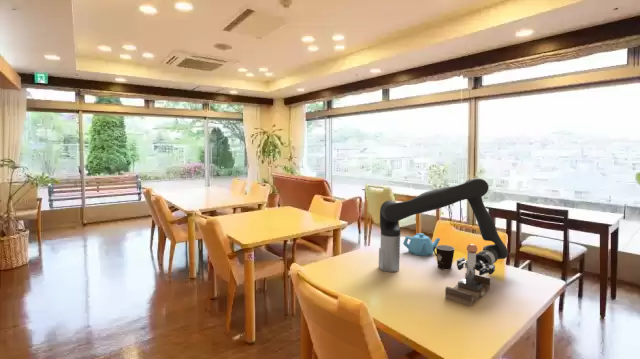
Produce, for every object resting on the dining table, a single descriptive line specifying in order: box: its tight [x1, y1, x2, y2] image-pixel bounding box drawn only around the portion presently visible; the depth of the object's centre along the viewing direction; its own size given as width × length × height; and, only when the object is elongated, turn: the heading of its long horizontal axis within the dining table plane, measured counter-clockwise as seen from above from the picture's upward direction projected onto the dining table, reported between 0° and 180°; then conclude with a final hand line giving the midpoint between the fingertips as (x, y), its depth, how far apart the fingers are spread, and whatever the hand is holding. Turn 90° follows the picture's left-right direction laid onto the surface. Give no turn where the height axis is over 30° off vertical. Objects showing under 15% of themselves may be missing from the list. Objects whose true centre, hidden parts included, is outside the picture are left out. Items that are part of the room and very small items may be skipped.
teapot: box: [402, 232, 441, 257], centre depth 198 cm, size 15×15×11 cm
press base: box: [444, 273, 492, 307], centre depth 145 cm, size 22×10×4 cm, turn 137°
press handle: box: [457, 243, 482, 292], centre depth 145 cm, size 5×8×18 cm, turn 47°
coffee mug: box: [433, 244, 456, 271], centre depth 176 cm, size 12×9×10 cm
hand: (469, 270), depth 144 cm, fingers open, 8 cm apart
